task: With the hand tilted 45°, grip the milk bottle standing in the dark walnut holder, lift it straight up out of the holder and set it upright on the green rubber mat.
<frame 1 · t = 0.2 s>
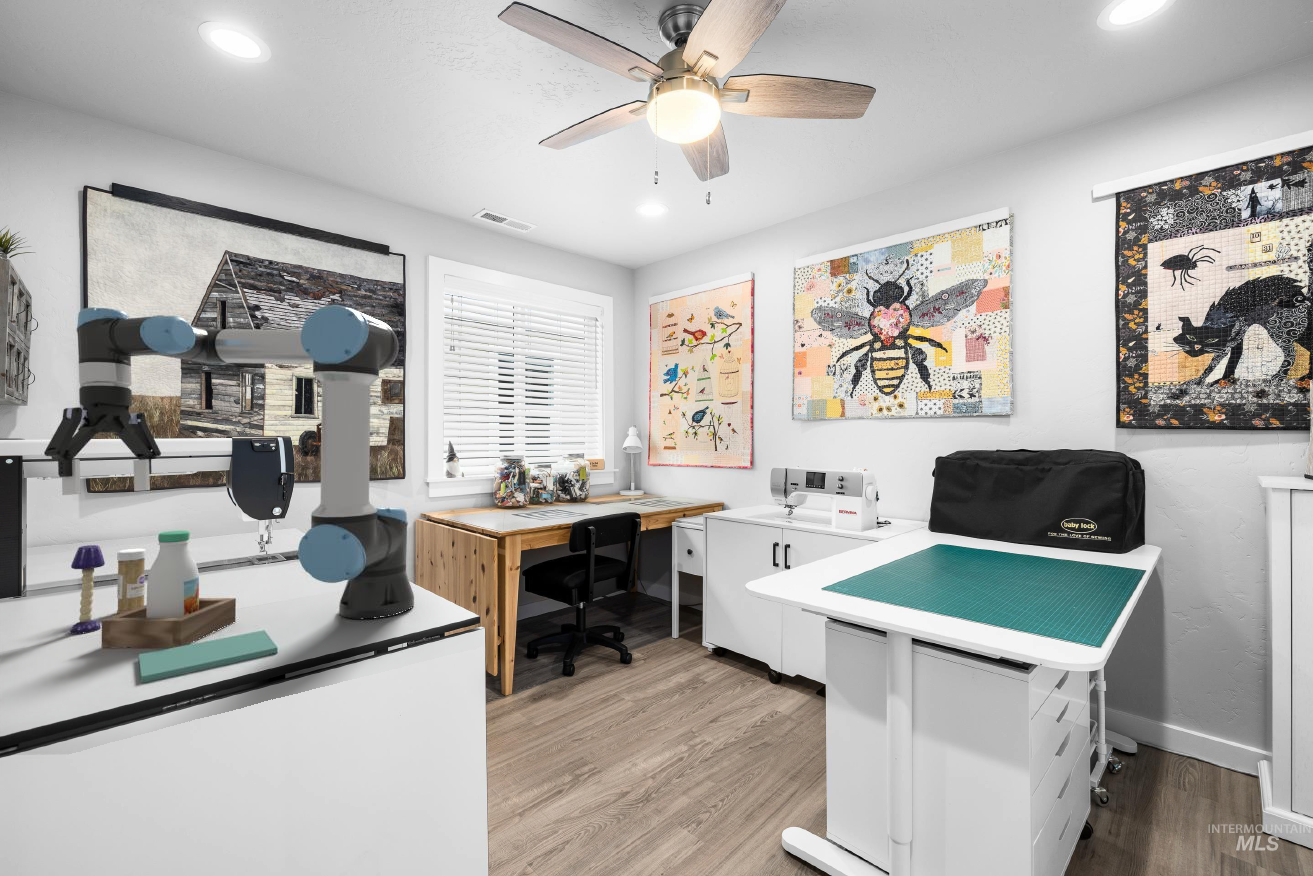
hand: (108, 492, 111), 27 cm above the table, tool pointing down, fingers open, 13 cm apart
green mat: (209, 656, 98), on the table
sprinkles bottle: (130, 612, 122), on the table
milk bottle: (172, 635, 109), resting in walnut holder
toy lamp: (86, 631, 110), on the table
walnut holder: (172, 634, 109), on the table
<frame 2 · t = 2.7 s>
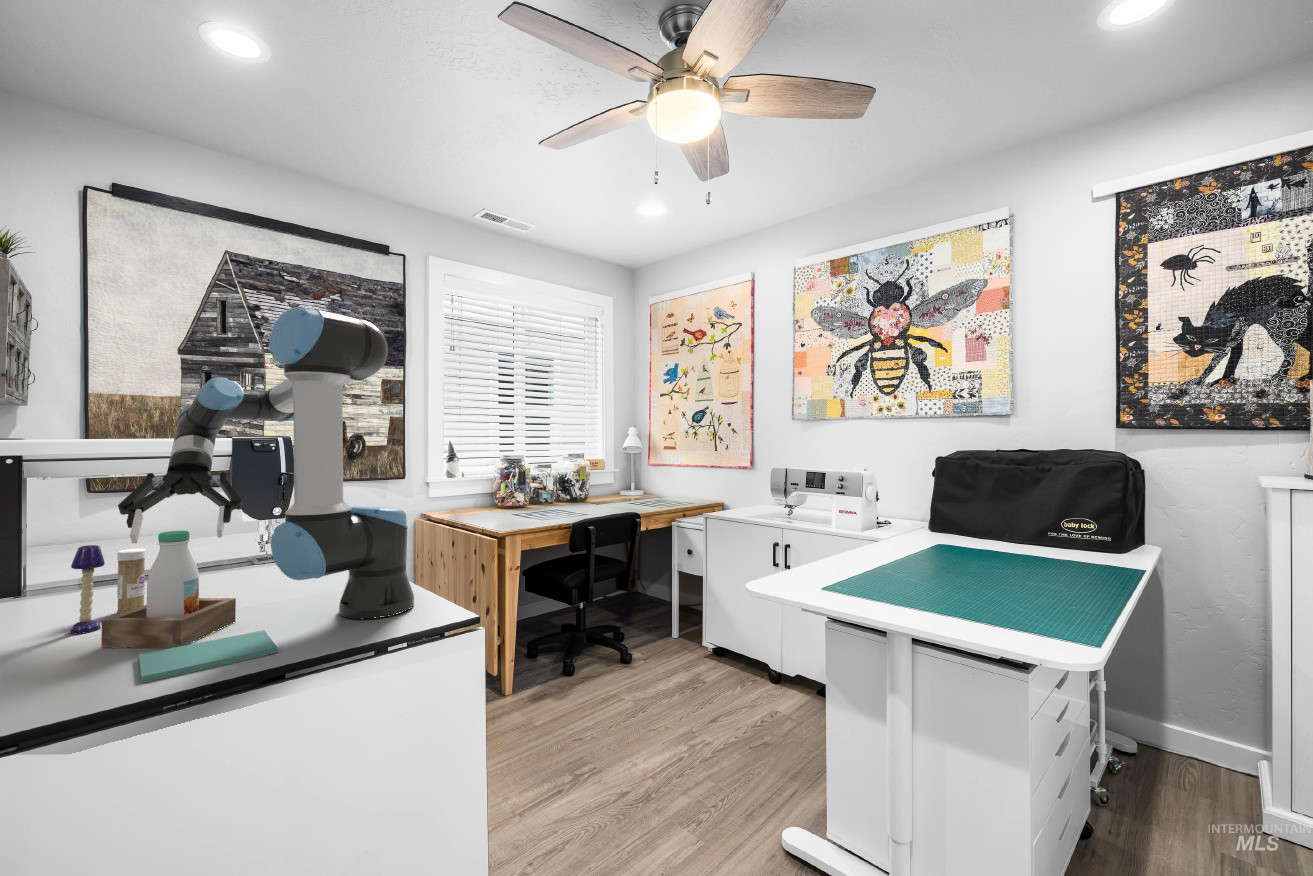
hand: (177, 536, 115), 18 cm above the table, tool tilted 45°, fingers open, 13 cm apart
nothing on the table moved.
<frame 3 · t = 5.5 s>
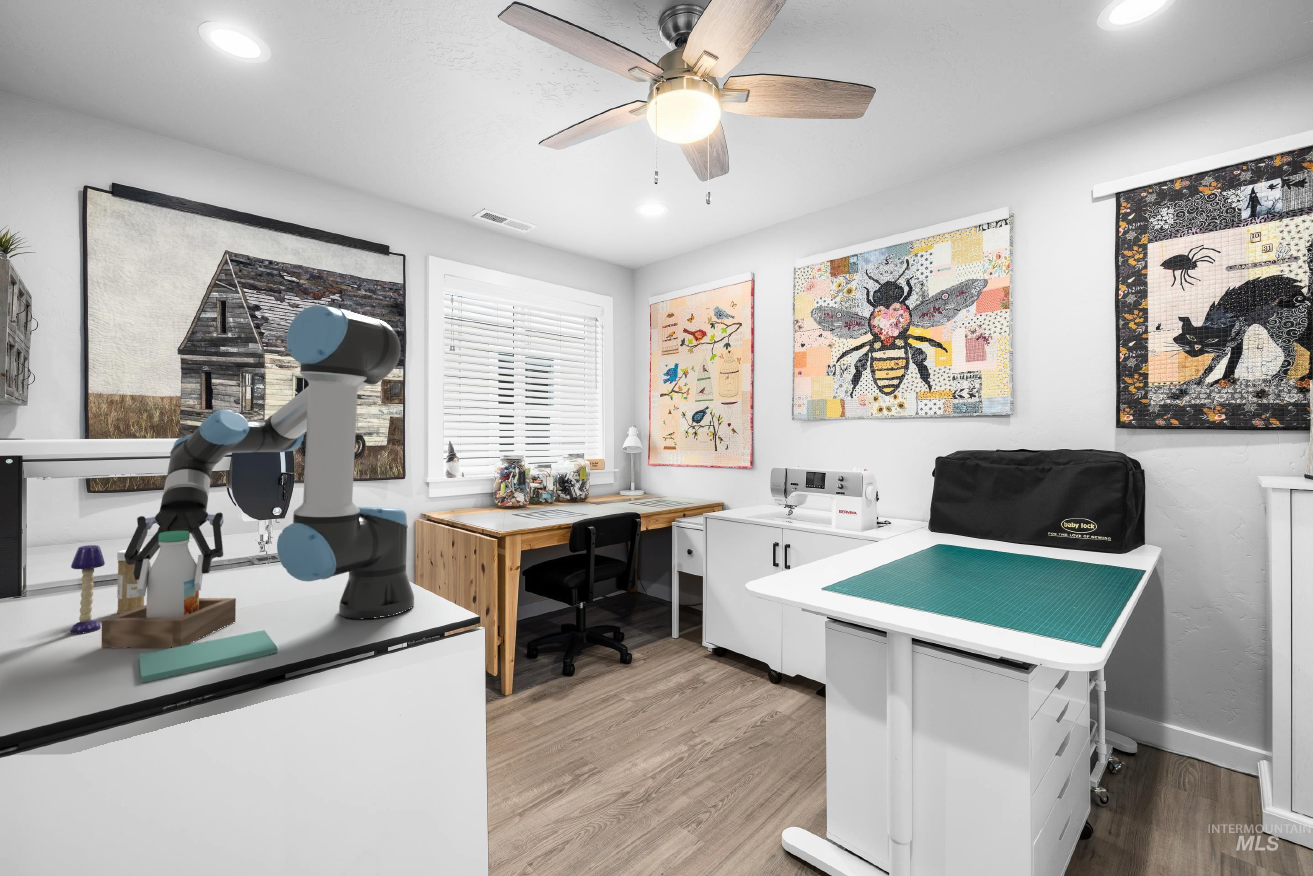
hand: (170, 589, 106), 10 cm above the table, tool tilted 45°, fingers closed on milk bottle, 7 cm apart
milk bottle: (172, 635, 109), resting in walnut holder, touching gripper
everything else where it was.
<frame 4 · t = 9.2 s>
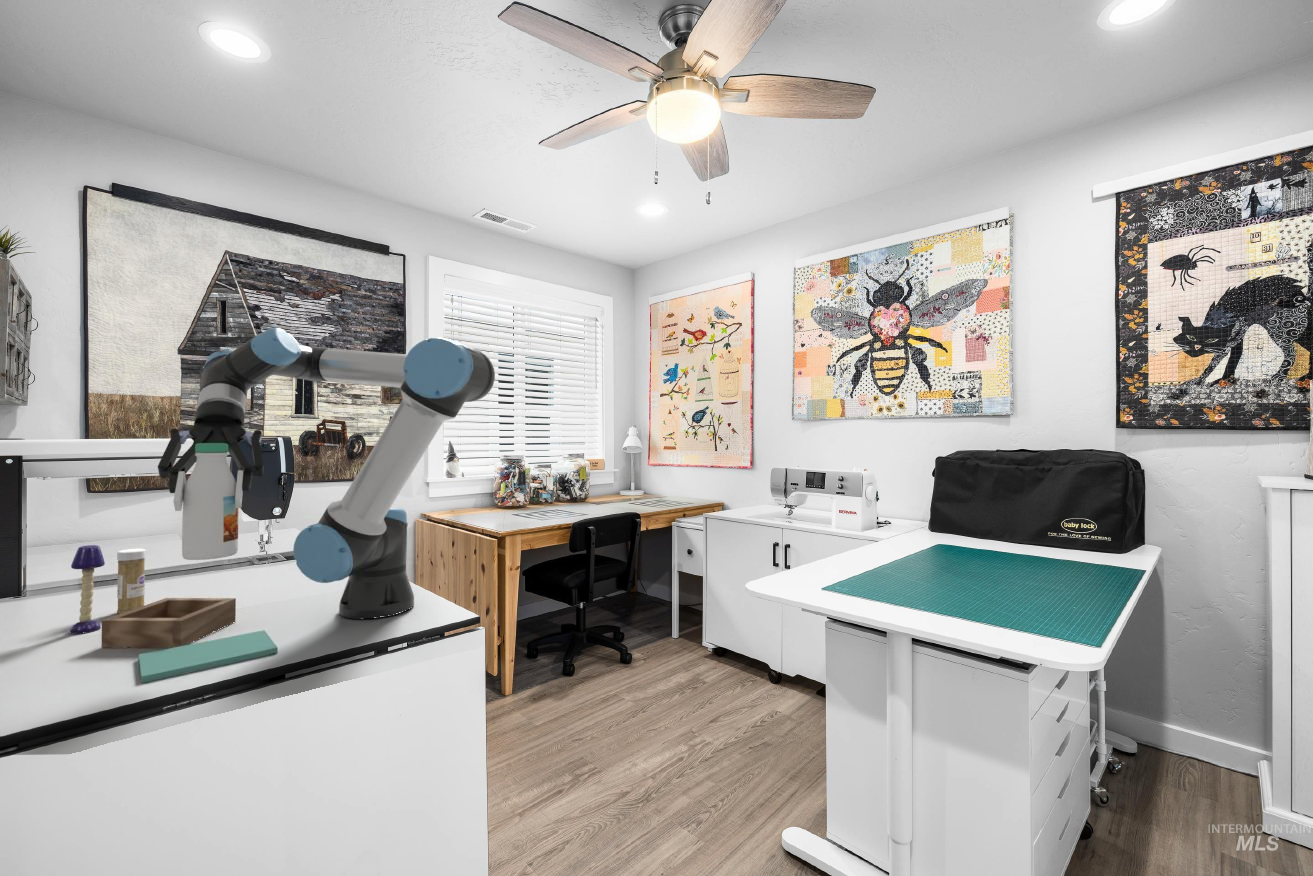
hand: (208, 504, 95), 27 cm above the table, tool tilted 45°, fingers closed on milk bottle, 7 cm apart
milk bottle: (210, 557, 98), point 18 cm above the table, touching gripper
everything else where it was.
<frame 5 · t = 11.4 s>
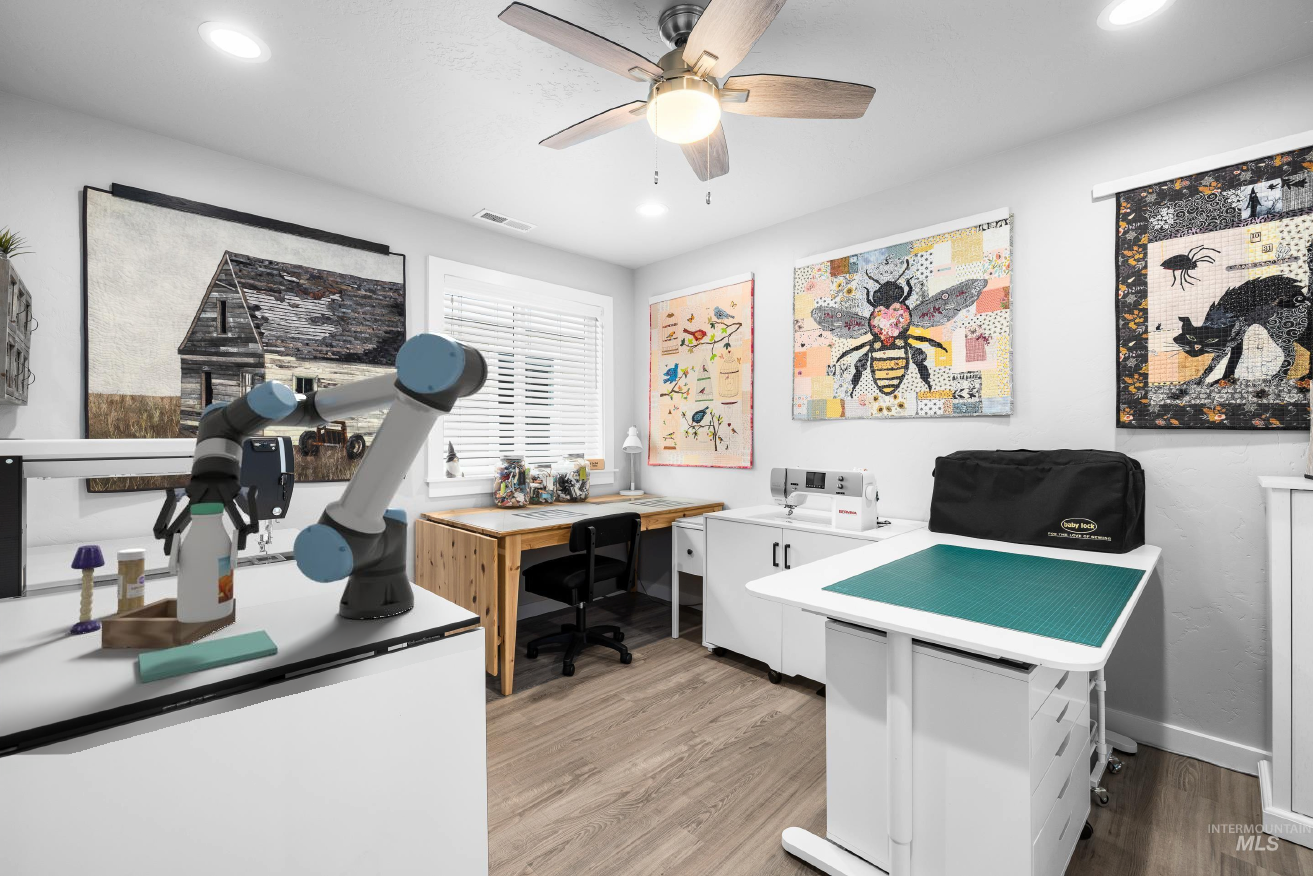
hand: (203, 566, 96), 17 cm above the table, tool tilted 45°, fingers closed on milk bottle, 7 cm apart
milk bottle: (205, 617, 99), point 7 cm above the table, touching gripper
everything else where it was.
when the fingers open (12 cm above the table, at t = 13.1 s): milk bottle drops 1 cm, resting on green mat.
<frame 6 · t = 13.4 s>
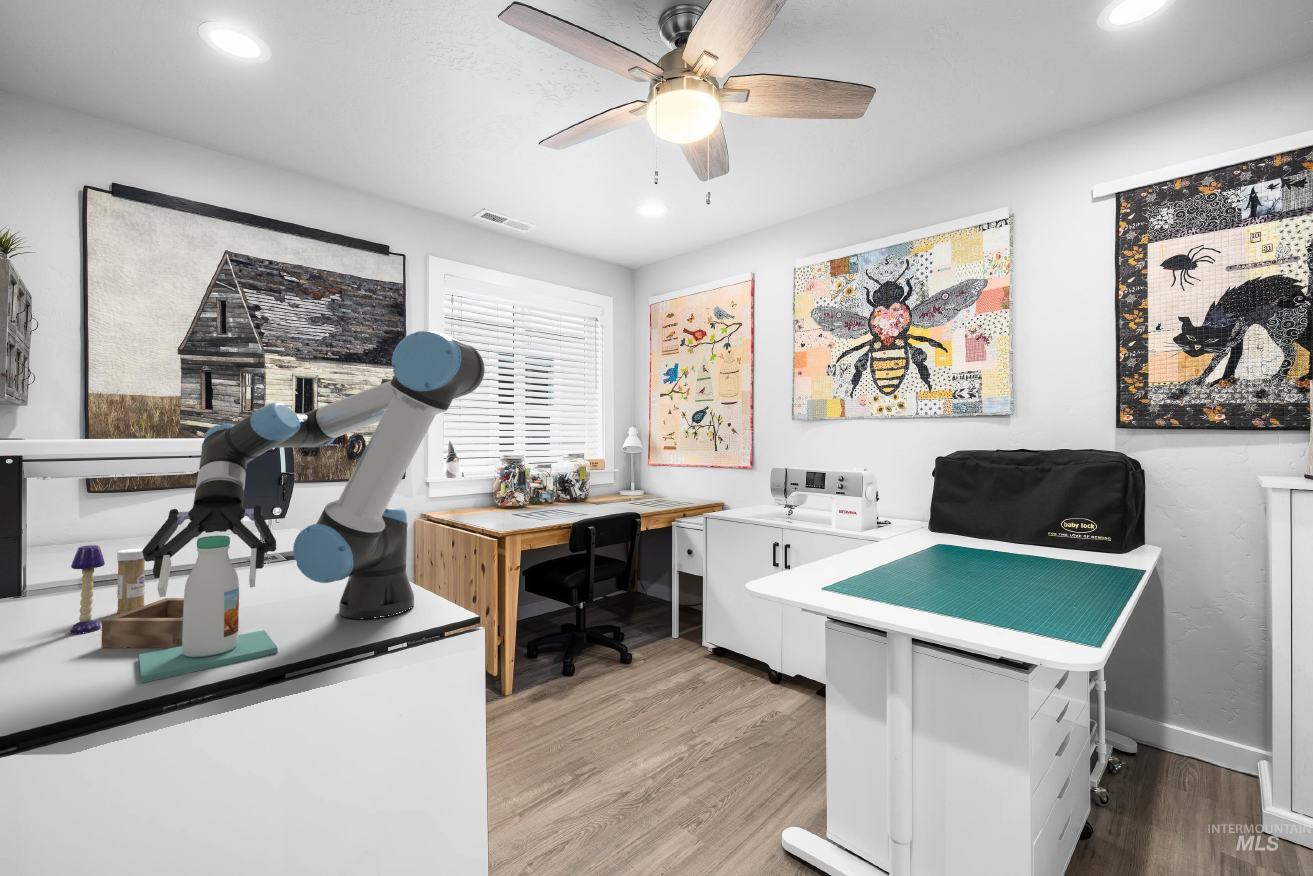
hand: (208, 587, 96), 13 cm above the table, tool tilted 45°, fingers open, 11 cm apart
milk bottle: (210, 651, 99), point 1 cm above the table, touching green mat
everything else where it was.
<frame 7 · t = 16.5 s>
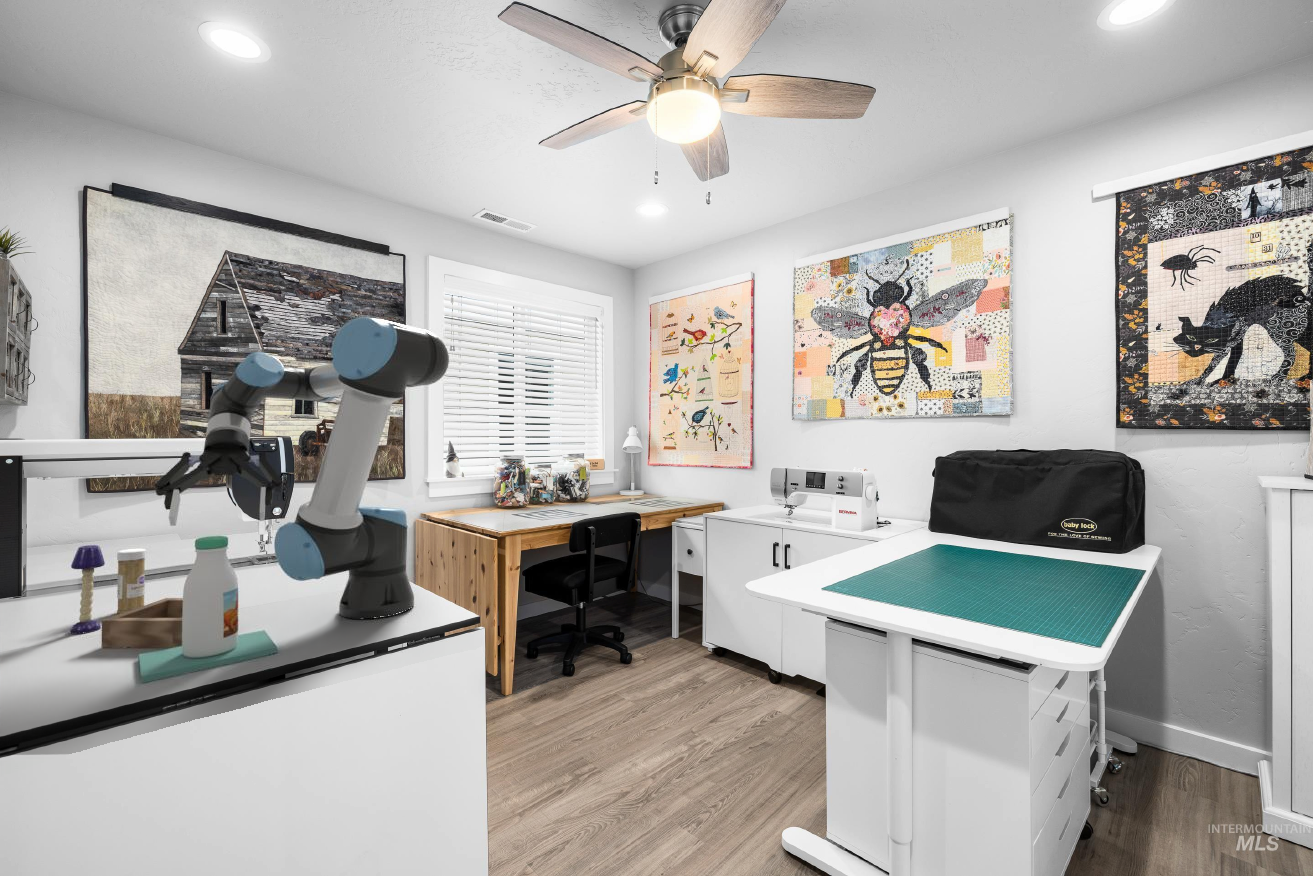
hand: (218, 519, 107), 23 cm above the table, tool tilted 45°, fingers open, 13 cm apart
nothing on the table moved.
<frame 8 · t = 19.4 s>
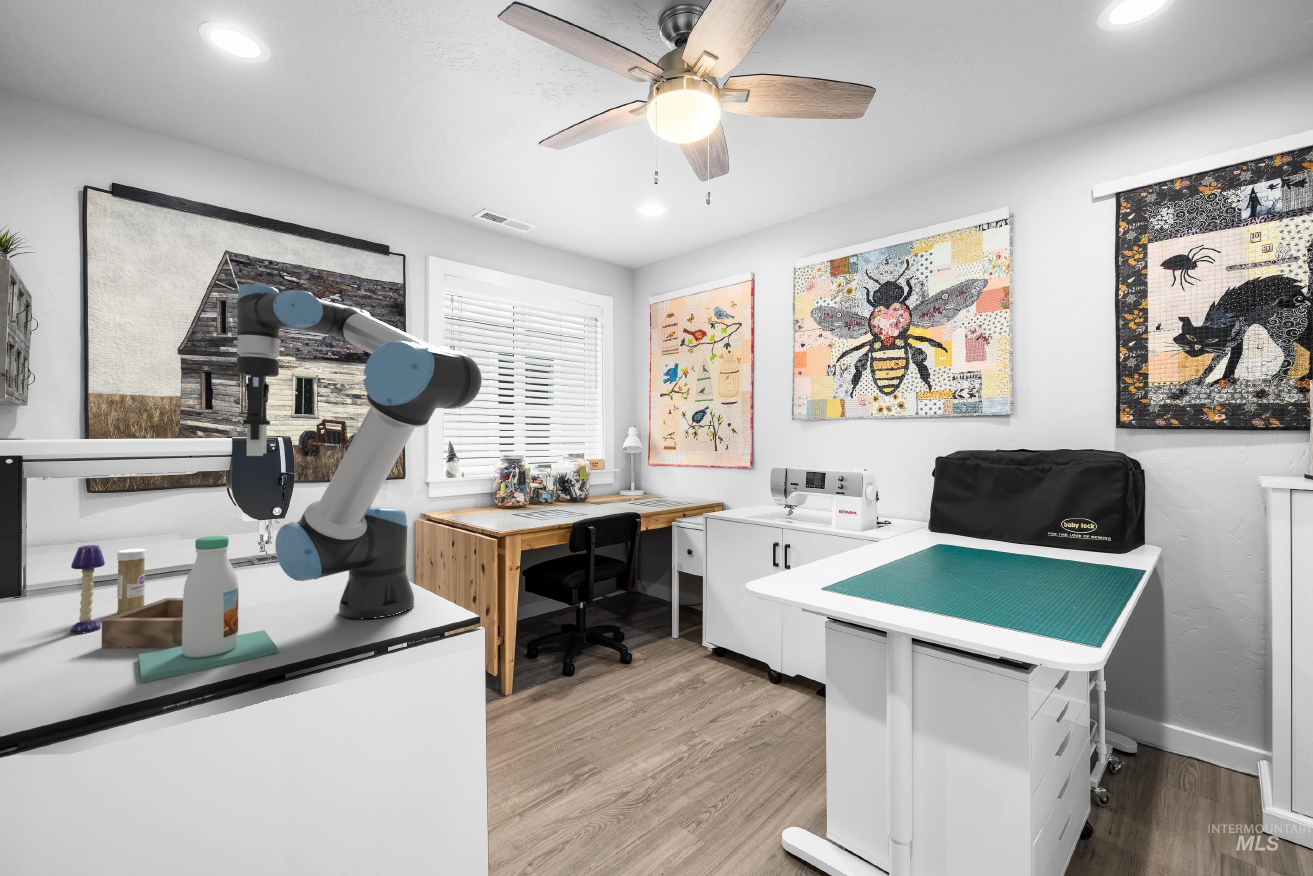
hand: (256, 454, 122), 35 cm above the table, tool pointing down, fingers open, 13 cm apart
nothing on the table moved.
at the end: milk bottle inside the target area on the green mat (0.1 cm from its centre), point 0.8 cm above the green mat's base; milk bottle tilted 0°; the gripper is holding nothing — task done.
